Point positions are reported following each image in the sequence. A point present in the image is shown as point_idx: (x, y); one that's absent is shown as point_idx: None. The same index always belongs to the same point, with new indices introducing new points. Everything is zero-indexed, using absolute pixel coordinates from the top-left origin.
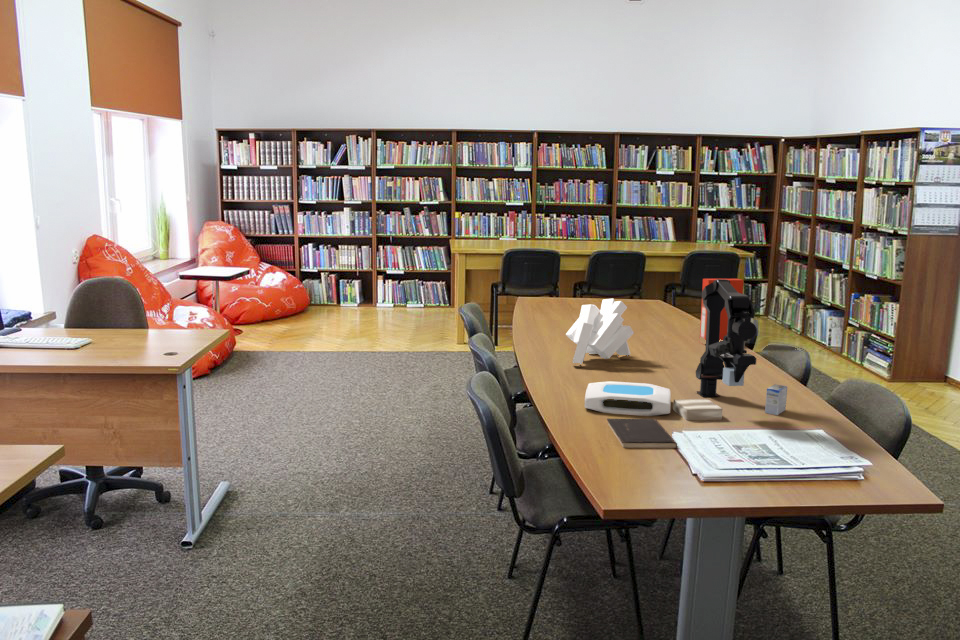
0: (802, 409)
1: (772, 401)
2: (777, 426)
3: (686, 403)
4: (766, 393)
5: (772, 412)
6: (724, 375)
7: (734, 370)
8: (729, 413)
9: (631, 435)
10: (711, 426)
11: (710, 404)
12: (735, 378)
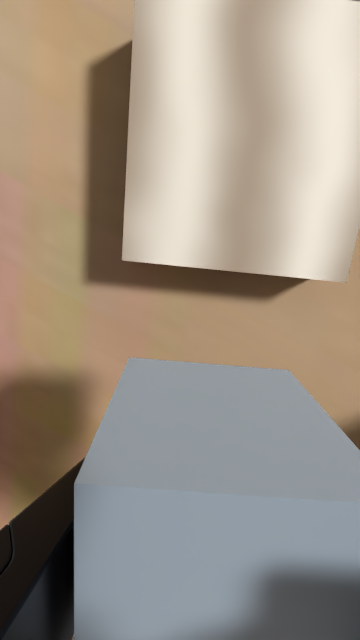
0: None
1: None
2: (4, 442)
3: (287, 63)
4: None
5: None
6: (273, 412)
7: (16, 568)
8: (220, 347)
9: None
10: (16, 130)
11: (227, 234)
12: (77, 465)
